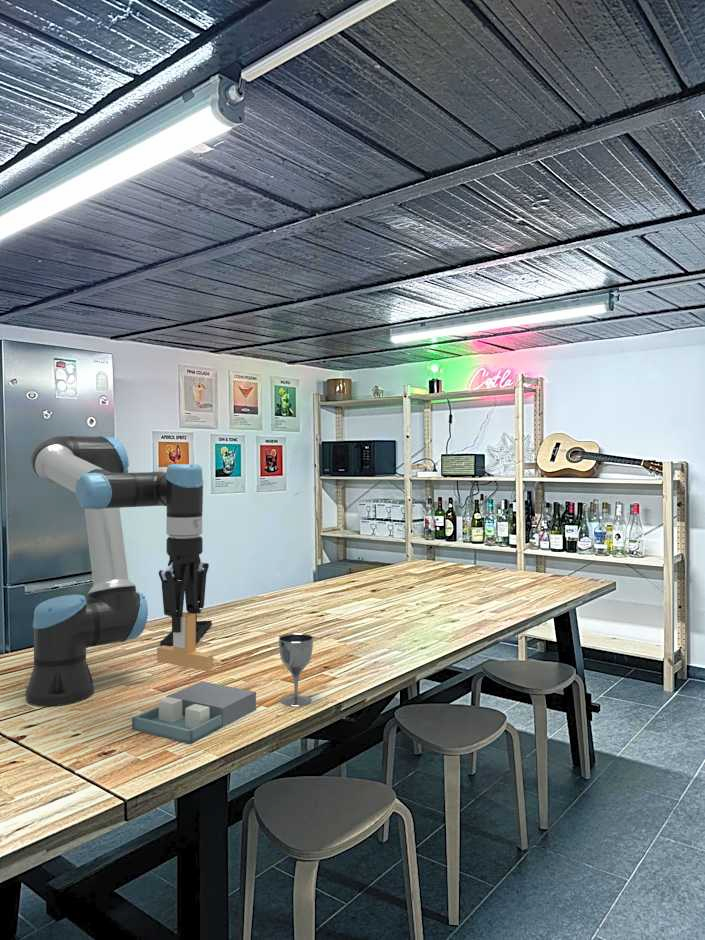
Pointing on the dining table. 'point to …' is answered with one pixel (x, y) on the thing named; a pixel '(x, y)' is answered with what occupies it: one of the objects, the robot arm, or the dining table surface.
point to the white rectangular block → (196, 715)
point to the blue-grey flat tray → (174, 727)
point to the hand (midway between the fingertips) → (184, 644)
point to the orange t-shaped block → (186, 649)
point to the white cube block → (170, 709)
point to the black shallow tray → (200, 631)
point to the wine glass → (295, 662)
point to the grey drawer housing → (218, 700)
